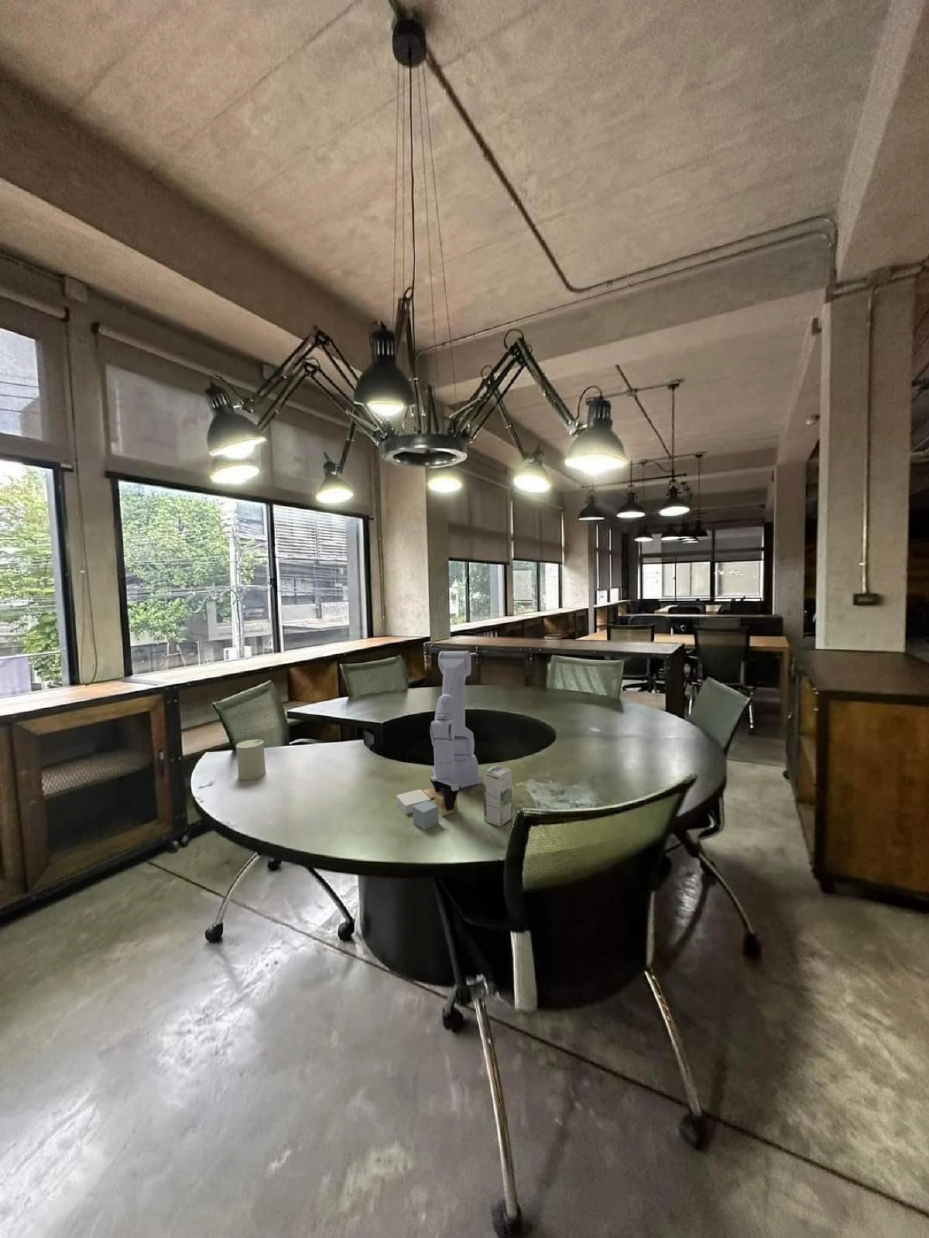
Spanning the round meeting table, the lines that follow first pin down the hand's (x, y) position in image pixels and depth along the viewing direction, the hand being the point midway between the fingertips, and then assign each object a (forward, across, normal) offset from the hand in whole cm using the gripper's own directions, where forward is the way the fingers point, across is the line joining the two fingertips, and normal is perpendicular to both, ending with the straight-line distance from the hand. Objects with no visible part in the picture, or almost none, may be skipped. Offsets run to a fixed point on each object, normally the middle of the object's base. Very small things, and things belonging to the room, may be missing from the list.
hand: (445, 805), depth 143 cm
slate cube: (+2, +4, -8) cm, 9 cm away
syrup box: (+2, +13, +10) cm, 16 cm away
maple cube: (+1, 0, 0) cm, 1 cm away
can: (+2, -61, -48) cm, 78 cm away
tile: (+1, -12, +2) cm, 12 cm away
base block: (+2, -8, -7) cm, 11 cm away
